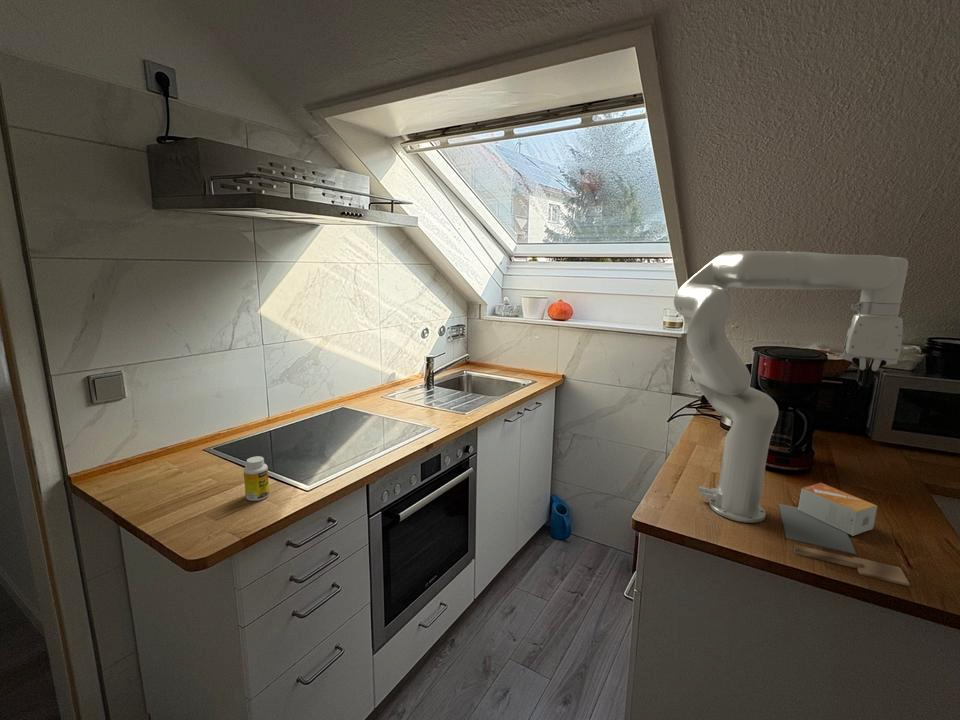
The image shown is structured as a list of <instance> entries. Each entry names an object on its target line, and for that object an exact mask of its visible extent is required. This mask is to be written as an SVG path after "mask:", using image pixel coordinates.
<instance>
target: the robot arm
mask: <svg viewBox="0 0 960 720" xmlns="http://www.w3.org/2000/svg"><path fill="white" fill-rule="evenodd" d="M908 268H909V261H908V259H907V258H905V257H900V256H899V257H898V256H887V255H883V254H882V255H881V254H840V253H839V254H838V253H823V252H812V251H811V252H810V251H781V250H780V251H779V250H778V251H775V250H773V251H771V250H769V251H768V250H736V251H735V250H732V251H729V250H728V251H724V252H722V253H721V254H718V255H717V256H716V257H714V258H712V260H711V261H709V262H708V263H707V264H705V265H704V266H703V267H702V268H700V270H698V271H697V272H696V273H695V274H694V275H692V276H691V277H690V278H689V279H687V280H686V281H685V282H684V283H683V284H681V286H680V287H679V288H678V289H677V291H676V293H675V294H674V298H673V306H674V308H675V311H676V312H678V314H679V315H680V316H682V317H685V318H688V319H690V320H689V322H688V323H689V324H688V326H687V331H686V345H687V349H688V351H689V352H690V354H691V356H692V357H693V358H692V360H691V363H690V366H689V367H690V368H689V370H690V374H691V377H692V380H693V381H694V383H695V384H696V386H697V387H698V389H699V390H700V391H701V394H702V395H703V396H704V398H706V400H707V401H708V403H709V404H710V405H711V406H712V409H714V410H715V411H716V412H717V413H718V414H720V415H722V416H723V417H725V418H726V419H728V420H730V421H731V422H732V424H731V427H730V428H729V430H728V431H727V433H726V436H725V438H724V444H723V451H722V459H721V467H720V473H719V481H718V484H717V485H716V488H715V487H711V488H710V487H709V488H708V487H706V486H700V485H698V491H697V493H698V494H700V495H702V498H703V499H704V498H705V499H709V506H710V509H712V511H714V512H715V513H716V514H718V515H720V516H722V517H723V518H726V519H729V520H732V521H735V522H738V523H739V522H740V523H741V522H742V523H747V524H748V523H750V524H751V523H759V522H762V521H764V520H765V518H766V516H767V515H766V511H765V508H763V507H762V506H761V504H760V503H761V498H762V497H761V496H762V493H763V492H762V491H763V485H764V479H765V478H764V477H765V471H766V465H767V459H768V454H769V447H770V443H771V438H772V435H773V431H774V429H775V427H776V424H777V421H778V418H779V413H780V412H779V411H780V410H779V407H778V404H777V403H776V401H775V400H774V399H773V398H772V397H771V396H770V395H769V394H767V393H766V392H763V391H761V390H758V389H756V388H755V387H751V386H750V384H751V374H750V371H749V369H748V367H747V365H746V364H745V362H744V361H743V360H742V358H741V357H740V355H739V354H738V353H737V351H736V349H735V348H734V346H733V345H732V343H731V342H730V339H729V338H728V335H727V333H726V330H727V329H726V328H727V323H728V320H729V318H730V316H731V314H732V311H733V305H734V301H733V298H732V294H731V293H730V292H729V291H728V289H729V288H737V289H738V288H740V289H755V290H757V289H759V290H760V289H762V290H769V289H771V290H776V289H777V290H804V291H807V290H814V291H815V290H853V291H855V290H860V291H861V293H860V298H859V301H858V303H852V304H851V305H850V310H852V311H856V312H857V314H853V317H852V319H851V321H850V324H849V326H848V329H847V333H846V335H845V336H846V337H845V340H844V343H843V352H842V354H841V359H843V360H845V361H847V362H848V361H849V362H852V363H853V364H854V365H855V366H856V367H857V369H858V370H857V375H856V382H857V383H858V385H859V386H860V387H866V388H869V387H870V385H871V384H873V383H874V381H875V379H874V378H875V373H876V372H877V371H878V370H880V368H882V367H884V366H886V365H887V366H888V365H897V364H898V359H899V358H900V354H901V349H902V342H903V341H902V340H903V329H904V328H903V327H904V325H903V324H904V322H903V317H900V316H899V312H900V307H901V304H902V303H901V302H902V299H903V298H902V297H903V293H904V287H905V283H906V279H907V274H908V273H907V272H908ZM867 359H871V360H870V363H869V365H868V366H867V365H866V364H867V362H866V361H867Z"/></svg>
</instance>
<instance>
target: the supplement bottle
mask: <svg viewBox="0 0 960 720" xmlns="http://www.w3.org/2000/svg"><path fill="white" fill-rule="evenodd" d="M243 479H244V496H245V498H246V500H247V501H250V502H258V501H262V500H264V499H266V498H267V497H268V496H269V495H270V488H269V487H270V486H269V484H270V483H269V482H270V481H269V467H268V465H267V464H266V463H265V458H264V457H263V456H259V455H258V456H257V455H256V456H252V457H249V458H247V459H246V466H244V468H243Z"/></svg>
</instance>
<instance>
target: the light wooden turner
mask: <svg viewBox="0 0 960 720" xmlns="http://www.w3.org/2000/svg"><path fill="white" fill-rule="evenodd" d="M793 552H794V554H796V555H801V556H802V557H803V556H804V557H808V558H813V559H816V560H820V561H824V562H825V561H826V562H827V563H833V564H837V565H840V566H846V567H849V568H853V569H857V572H858V575H862V576H866V577H869V578H874V579H876V580H877V579H878V580H881V581H882V580H883V581H886V582H889V583H894V584H897V585H903V586H906V587H910V586H911V584H910V582H909V579H908V578H907V577H906V575H905V573H904V572H903V570H902V568H901V567H900V566H895V565H891V564H887V563H883V562H879V561H874V560H871V559H870V560H869V559H865V558H862V557H857V556H852V557H849V556H847V555H842V554H838V553H832V552H828V551H826V550H821V549H816V548H811V547H808V546H804V545H800V544H799V545H798V544H794V546H793Z"/></svg>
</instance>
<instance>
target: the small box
mask: <svg viewBox="0 0 960 720" xmlns="http://www.w3.org/2000/svg"><path fill="white" fill-rule="evenodd" d="M800 489H801V491H800V495H799V502H798V506H797V507H798V510H799V511H801V512H803V513H805V514H807V515H809V516H812V517H814V518H816V519H818V520H820V521H822V522H824V523H827V524H829V525H831V526H833V527H835V528H837V529H839V530H841V531H843V532H846V533H847V534H848V535H850V536H852V537H854V536H856V535H860V534H862V533H865V532H867V531H871V530H873V529H874V525H875V520H876V515H877V511H878V510H877V509H878V505H876V504H874V503H872V502H869V501H867V500H865V499H862V498H859V497H858V496H855V495H852V494H849V493H847V492H845V491H842V490H840V489H837V488H835V487H833V486H830V485H828V484H825V483H823V482H819V483H815V484H812V485H808V486H804V487H802V488H800Z"/></svg>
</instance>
